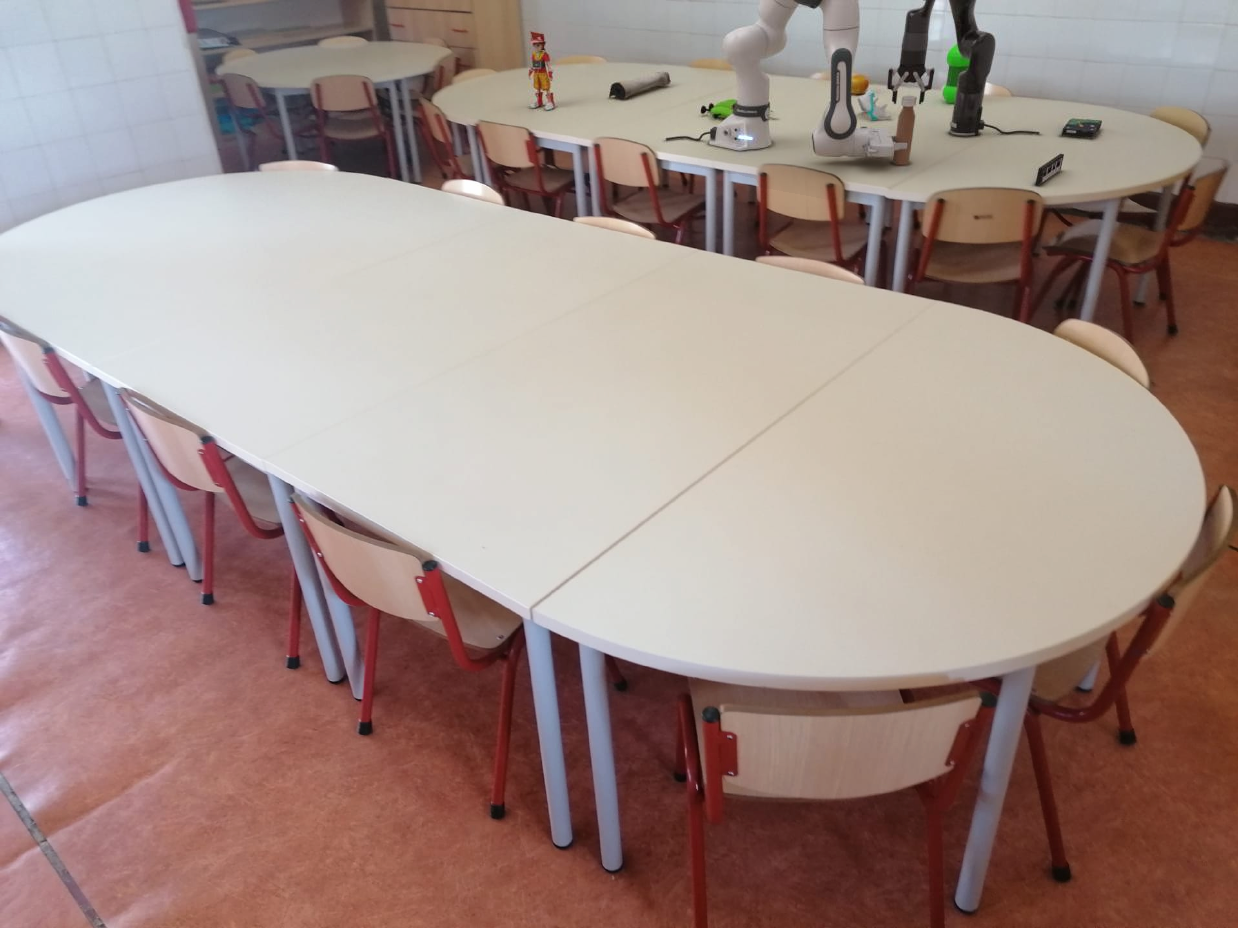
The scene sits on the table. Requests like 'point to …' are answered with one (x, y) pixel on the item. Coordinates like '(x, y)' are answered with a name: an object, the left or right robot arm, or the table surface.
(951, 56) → the green dumbbell
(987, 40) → the right robot arm
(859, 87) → the fruit
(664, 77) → the rolled mat
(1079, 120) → the disk drive
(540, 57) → the toy
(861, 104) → the anatomical model
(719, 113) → the toy
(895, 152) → the bottle
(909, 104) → the cap
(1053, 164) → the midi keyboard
